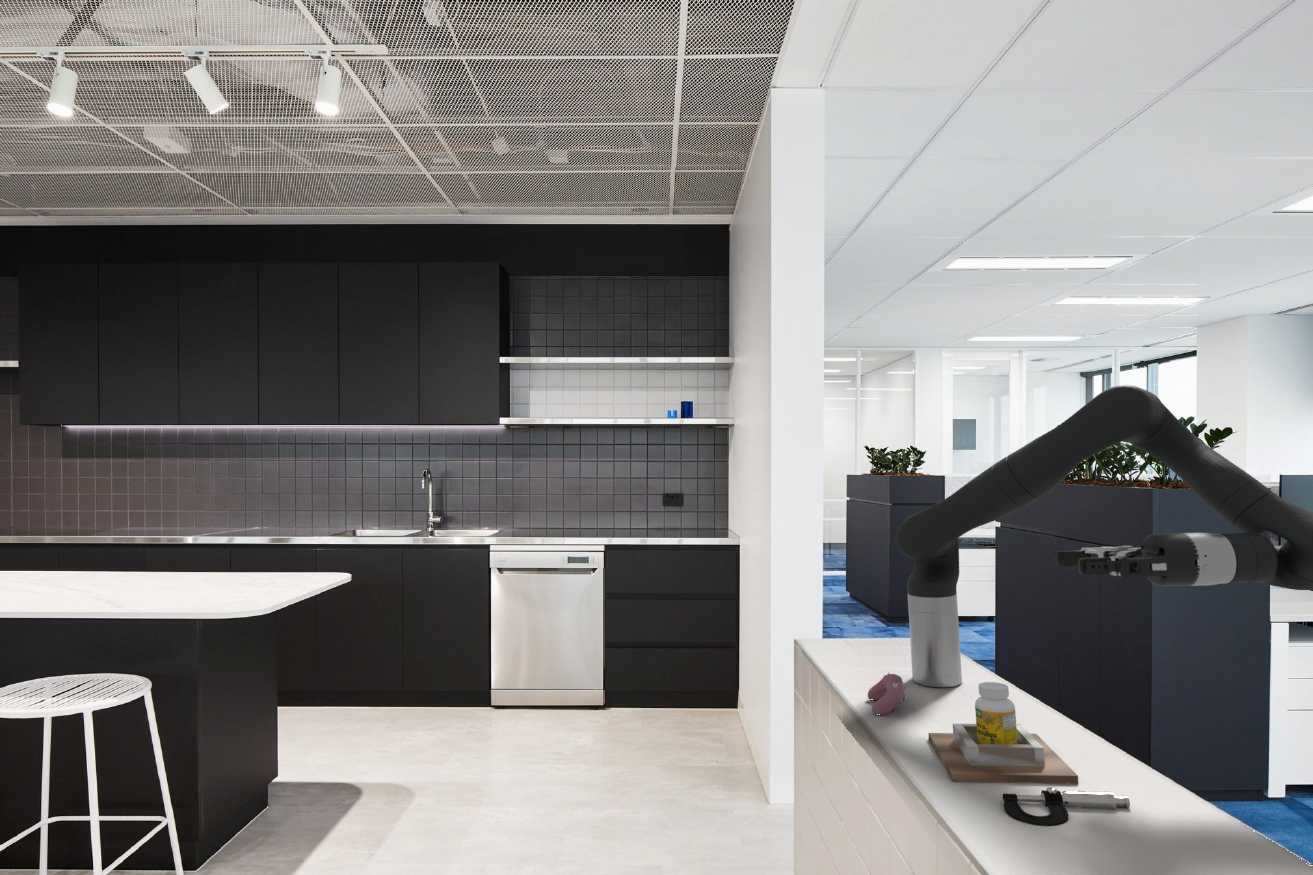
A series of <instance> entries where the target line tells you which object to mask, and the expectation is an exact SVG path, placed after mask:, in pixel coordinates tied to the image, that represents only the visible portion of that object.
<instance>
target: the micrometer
mask: <svg viewBox="0 0 1313 875" xmlns="http://www.w3.org/2000/svg"><path fill="white" fill-rule="evenodd" d="M1002 800H1003V809H1004V812H1005V814H1007V816H1009V817H1010V818H1012V819H1014V820H1016V821H1018V822H1020V823H1024V824H1027V825H1033V826H1038V827H1056V826H1060V825H1061V826H1062V825H1064V824H1065V823H1067V822H1068V821H1069V811H1068V810H1067V808H1070V809H1088V810H1089V809H1090V810H1091V809H1095V810H1096V809H1097V810H1098V809H1100V810H1101V809H1102V810H1116V809H1117V807H1119V808H1120V807H1122V808H1126V807H1127V808H1130V807H1131V802H1130V798H1129V797H1128V796H1127V795H1122V796H1118V795H1114V793H1113V792H1112V791H1086V790H1076V791H1075V790H1063V791H1060V790H1058V789H1057V788H1055V787H1053V786H1048V787H1046V790H1045V789H1044V790H1041V792H1040V795H1038V794H1037V795H1034V794H1033V795H1032V794H1017V793H1002ZM1019 802H1020V803H1042V804H1043V805H1044V807H1045V808H1047V809H1048V811H1049V814H1047V815H1043V816H1042V815H1041V816H1040V815H1034V814H1030V813H1029V812H1026V811H1025V810H1024V809H1023V808H1022V807H1021V805H1020V803H1019Z"/></svg>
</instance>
